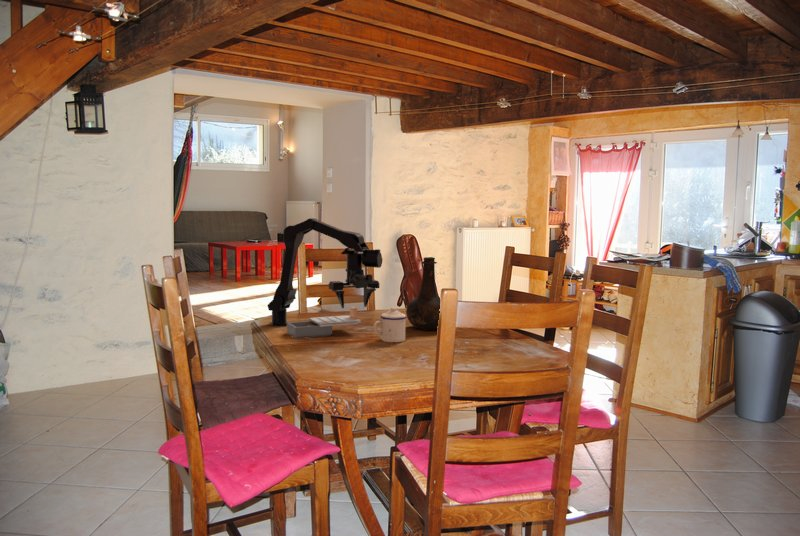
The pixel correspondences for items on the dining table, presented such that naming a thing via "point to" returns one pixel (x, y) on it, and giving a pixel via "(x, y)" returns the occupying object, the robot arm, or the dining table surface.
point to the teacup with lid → (392, 326)
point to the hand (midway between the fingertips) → (354, 307)
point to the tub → (307, 329)
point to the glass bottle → (425, 300)
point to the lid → (338, 319)
